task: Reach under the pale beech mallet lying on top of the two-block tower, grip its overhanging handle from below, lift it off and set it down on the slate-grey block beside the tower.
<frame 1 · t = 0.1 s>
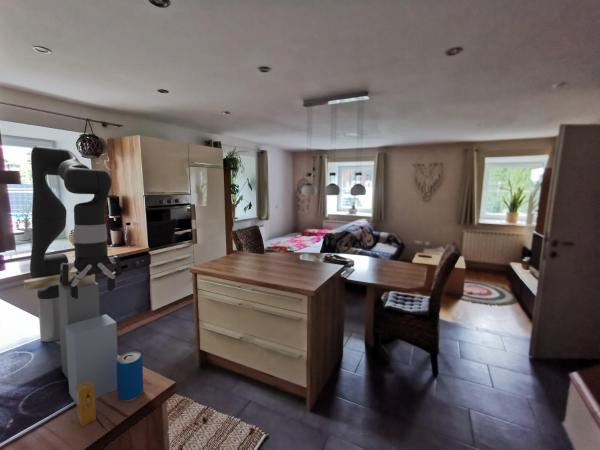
hand: (93, 294, 81), 29 cm above the counter, tool pointing down, fingers open, 8 cm apart
supplement box: (86, 420, 72), on the counter
grey tall block: (94, 390, 83), on the counter
beverage can: (130, 395, 82), on the counter
mallet: (80, 283, 87), point 30 cm above the counter, touching tall tower
tall tower: (85, 371, 91), on the counter
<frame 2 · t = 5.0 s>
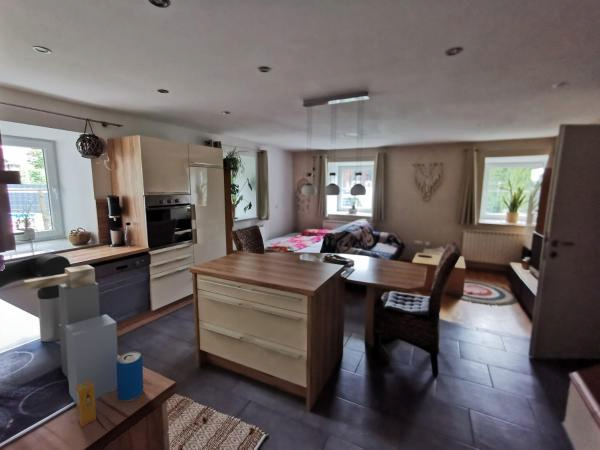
nothing on the counter moved.
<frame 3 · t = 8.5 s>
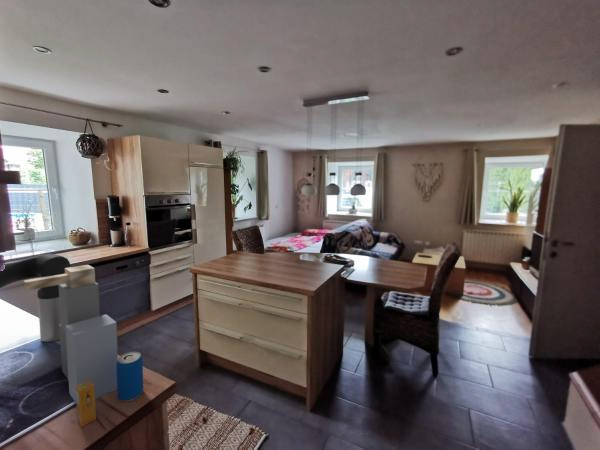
nothing on the counter moved.
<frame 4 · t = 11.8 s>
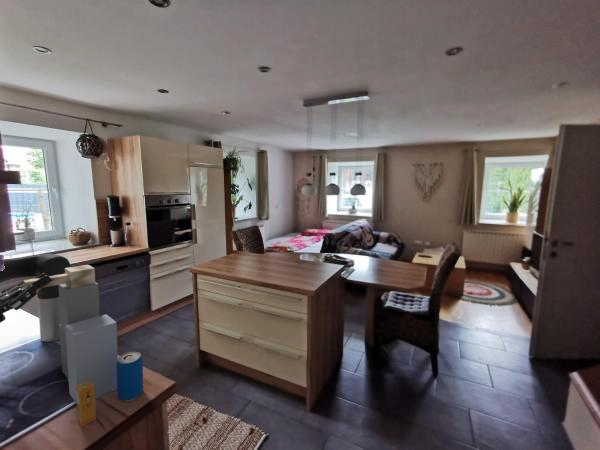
hand: (48, 276, 81), 34 cm above the counter, tool pointing upward, fingers closed on mallet, 2 cm apart
mallet: (80, 283, 87), point 30 cm above the counter, touching gripper, tall tower
everything else where it was.
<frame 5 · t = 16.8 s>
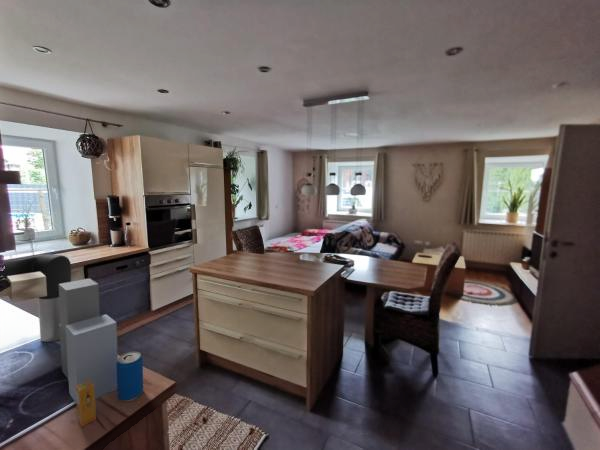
hand: (6, 280, 65), 38 cm above the counter, tool pointing upward, fingers closed on mallet, 2 cm apart
mallet: (27, 295, 69), point 33 cm above the counter, touching gripper
everything else where it was.
when the fingers open (26 cm above the counter, at t = 21.6 s): mallet stays where it is, resting on grey tall block.
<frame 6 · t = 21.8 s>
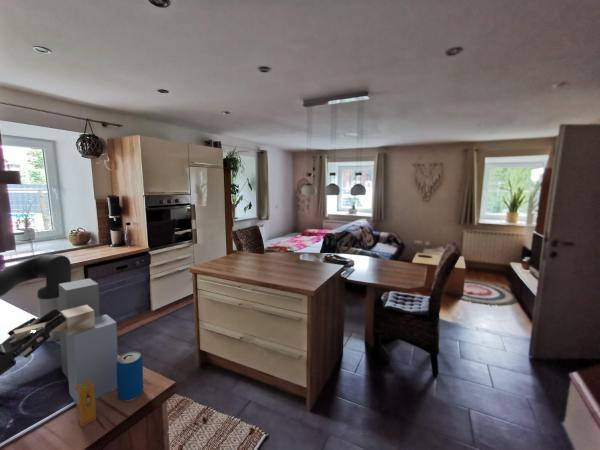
hand: (60, 313, 74), 26 cm above the counter, tool pointing upward, fingers open, 4 cm apart
mallet: (78, 327, 78), point 21 cm above the counter, touching grey tall block
everything else where it was.
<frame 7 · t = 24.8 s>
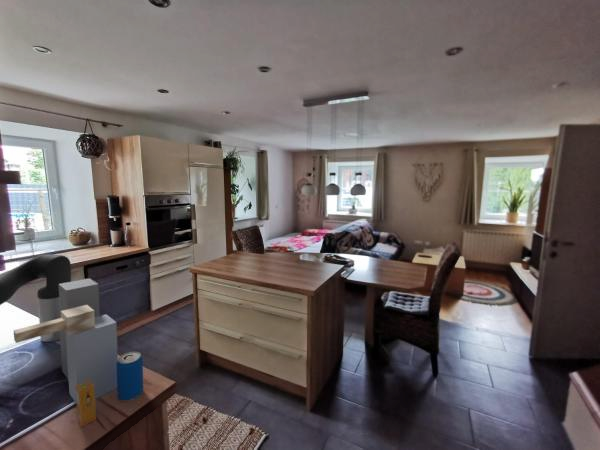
nothing on the counter moved.
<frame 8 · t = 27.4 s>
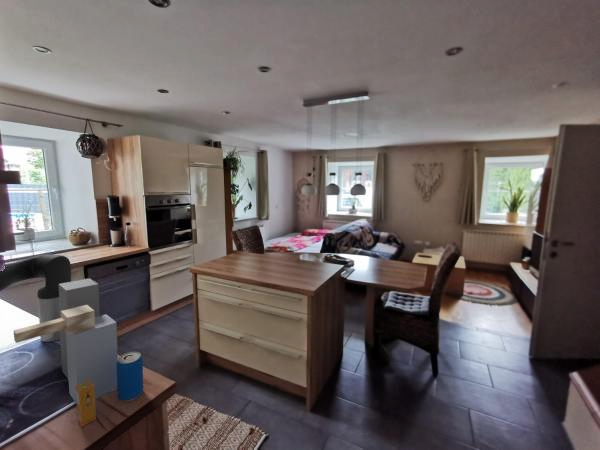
nothing on the counter moved.
at the end: mallet inside the target area on the grey tall block (3.5 cm from its centre), point 21.0 cm above the grey tall block's base; mallet tilted 0°; the gripper is holding nothing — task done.
